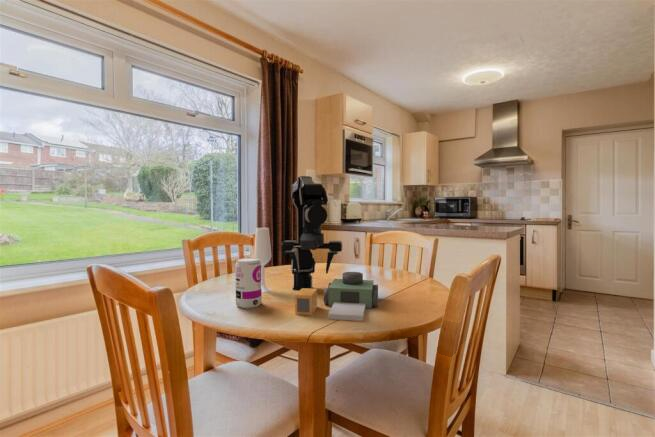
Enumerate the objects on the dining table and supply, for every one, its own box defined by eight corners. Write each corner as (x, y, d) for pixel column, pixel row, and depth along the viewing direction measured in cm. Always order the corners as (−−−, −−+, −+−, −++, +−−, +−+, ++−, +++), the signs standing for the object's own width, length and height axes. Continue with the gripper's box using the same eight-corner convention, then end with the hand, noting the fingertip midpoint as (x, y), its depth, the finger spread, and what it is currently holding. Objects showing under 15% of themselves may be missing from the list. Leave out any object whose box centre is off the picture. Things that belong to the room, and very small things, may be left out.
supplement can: (266, 302, 112) (265, 258, 111) (252, 310, 104) (252, 262, 104) (245, 300, 115) (244, 257, 114) (230, 307, 107) (230, 261, 106)
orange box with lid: (295, 314, 100) (294, 295, 100) (302, 306, 108) (301, 288, 108) (311, 315, 99) (311, 295, 99) (317, 307, 108) (317, 288, 107)
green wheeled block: (315, 318, 97) (315, 287, 96) (330, 294, 121) (330, 270, 121) (375, 321, 94) (375, 290, 93) (378, 297, 118) (378, 272, 118)
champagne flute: (273, 288, 131) (272, 227, 130) (270, 292, 124) (270, 228, 123) (255, 288, 131) (255, 227, 130) (252, 293, 124) (251, 228, 123)
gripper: (276, 224, 97) (276, 278, 98) (340, 225, 95) (340, 279, 96) (285, 223, 108) (285, 270, 109) (342, 223, 106) (342, 271, 107)
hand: (312, 273), depth 105 cm, fingers open, 9 cm apart
